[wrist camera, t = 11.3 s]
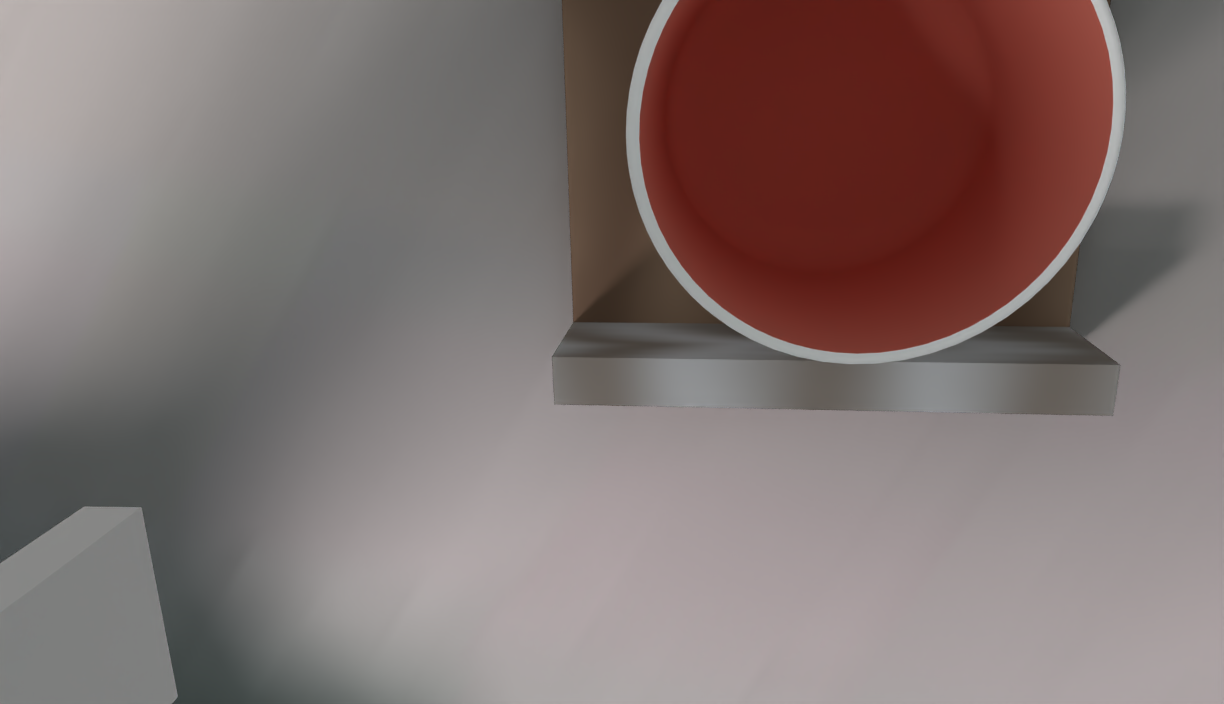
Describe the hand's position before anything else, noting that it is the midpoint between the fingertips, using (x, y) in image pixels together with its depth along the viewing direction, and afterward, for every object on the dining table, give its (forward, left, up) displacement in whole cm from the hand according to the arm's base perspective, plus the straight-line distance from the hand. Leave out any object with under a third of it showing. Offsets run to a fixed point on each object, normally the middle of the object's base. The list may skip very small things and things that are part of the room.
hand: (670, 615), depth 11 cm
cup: (+3, +5, -20) cm, 21 cm away
